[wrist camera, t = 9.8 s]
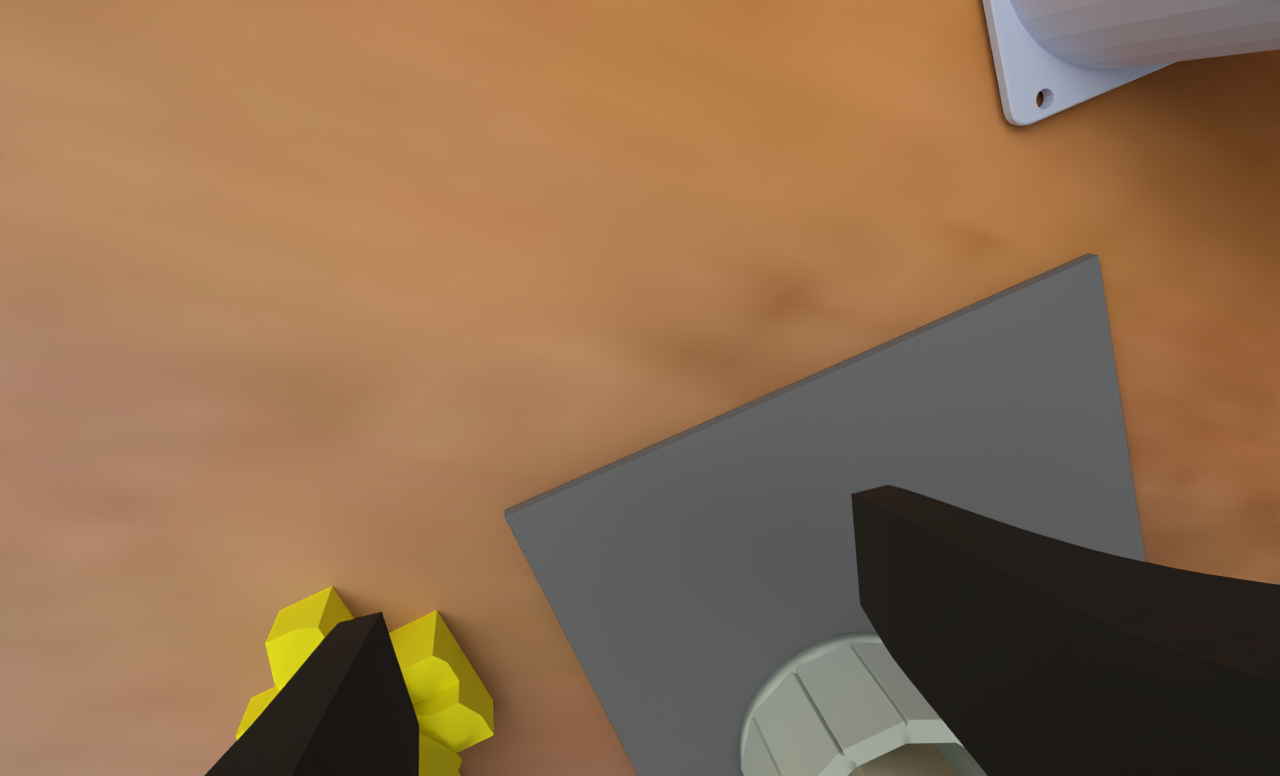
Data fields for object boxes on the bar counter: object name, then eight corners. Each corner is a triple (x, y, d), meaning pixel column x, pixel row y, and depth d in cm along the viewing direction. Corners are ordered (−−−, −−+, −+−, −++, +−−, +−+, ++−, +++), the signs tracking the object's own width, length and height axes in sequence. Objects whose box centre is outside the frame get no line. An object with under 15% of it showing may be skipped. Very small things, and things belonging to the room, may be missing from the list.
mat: (1088, 253, 23) (1098, 255, 23) (1154, 669, 29) (1163, 676, 28) (504, 510, 22) (504, 516, 21) (698, 888, 28) (701, 898, 27)
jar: (917, 596, 25) (995, 678, 21) (964, 756, 28) (1041, 854, 24) (707, 693, 25) (748, 794, 21) (776, 847, 27) (823, 961, 23)
